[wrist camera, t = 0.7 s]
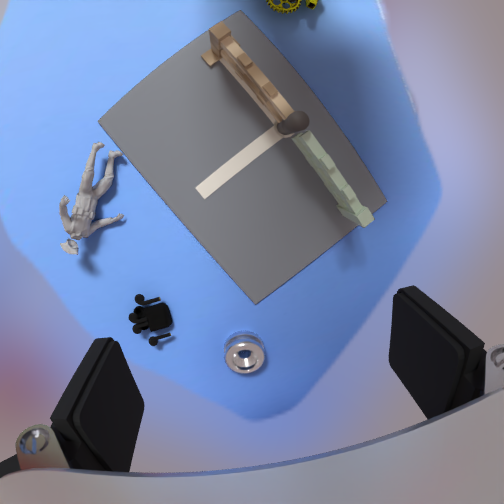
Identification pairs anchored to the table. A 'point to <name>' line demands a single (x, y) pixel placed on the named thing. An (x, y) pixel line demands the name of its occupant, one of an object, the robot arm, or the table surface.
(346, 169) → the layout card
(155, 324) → the wireless earbuds
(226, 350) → the grooved metal pulley
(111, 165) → the soldier figure
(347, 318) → the table surface
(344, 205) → the fence swing section
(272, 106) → the fence fixed section
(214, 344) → the table surface
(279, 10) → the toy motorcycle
